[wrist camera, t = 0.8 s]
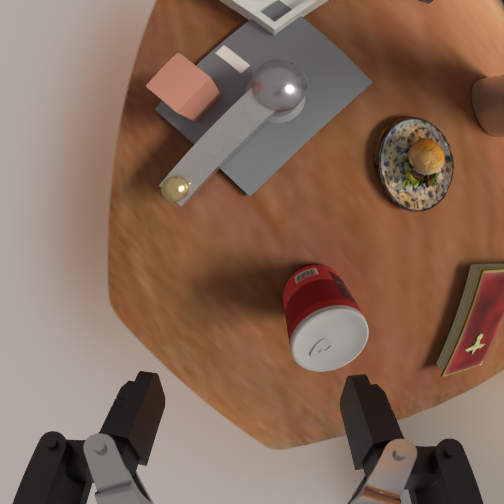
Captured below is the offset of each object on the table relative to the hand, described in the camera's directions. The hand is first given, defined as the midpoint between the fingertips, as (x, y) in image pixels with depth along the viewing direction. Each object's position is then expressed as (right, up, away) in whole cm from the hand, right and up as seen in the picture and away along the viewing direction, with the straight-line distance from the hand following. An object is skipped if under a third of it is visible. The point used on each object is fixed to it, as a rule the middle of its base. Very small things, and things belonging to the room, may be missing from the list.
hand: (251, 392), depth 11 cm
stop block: (-6, +22, +16) cm, 28 cm away
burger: (+20, +17, +19) cm, 33 cm away
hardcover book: (+40, -5, +27) cm, 49 cm away
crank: (-2, +18, +17) cm, 25 cm away
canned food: (+8, +1, +25) cm, 26 cm away
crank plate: (+1, +24, +16) cm, 29 cm away
